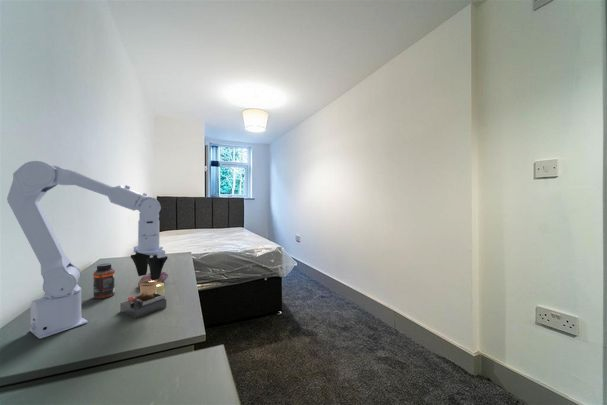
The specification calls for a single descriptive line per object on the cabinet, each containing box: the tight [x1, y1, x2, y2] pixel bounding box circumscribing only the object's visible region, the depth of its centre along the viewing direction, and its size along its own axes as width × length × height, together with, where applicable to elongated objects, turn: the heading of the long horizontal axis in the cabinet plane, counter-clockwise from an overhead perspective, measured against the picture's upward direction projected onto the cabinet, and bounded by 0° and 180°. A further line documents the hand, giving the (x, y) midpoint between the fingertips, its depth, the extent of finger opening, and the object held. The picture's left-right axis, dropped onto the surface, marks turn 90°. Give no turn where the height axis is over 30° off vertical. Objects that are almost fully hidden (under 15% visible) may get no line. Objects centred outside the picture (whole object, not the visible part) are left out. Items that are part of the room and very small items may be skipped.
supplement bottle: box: [92, 262, 116, 300], centre depth 87 cm, size 6×6×11 cm
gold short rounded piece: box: [157, 282, 165, 295], centre depth 87 cm, size 6×6×4 cm
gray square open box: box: [119, 293, 167, 320], centre depth 77 cm, size 9×9×5 cm
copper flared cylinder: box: [138, 279, 157, 301], centre depth 78 cm, size 5×5×6 cm
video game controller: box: [137, 270, 169, 288], centre depth 98 cm, size 10×5×7 cm, turn 143°
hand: (148, 277), depth 78 cm, fingers open, 7 cm apart
